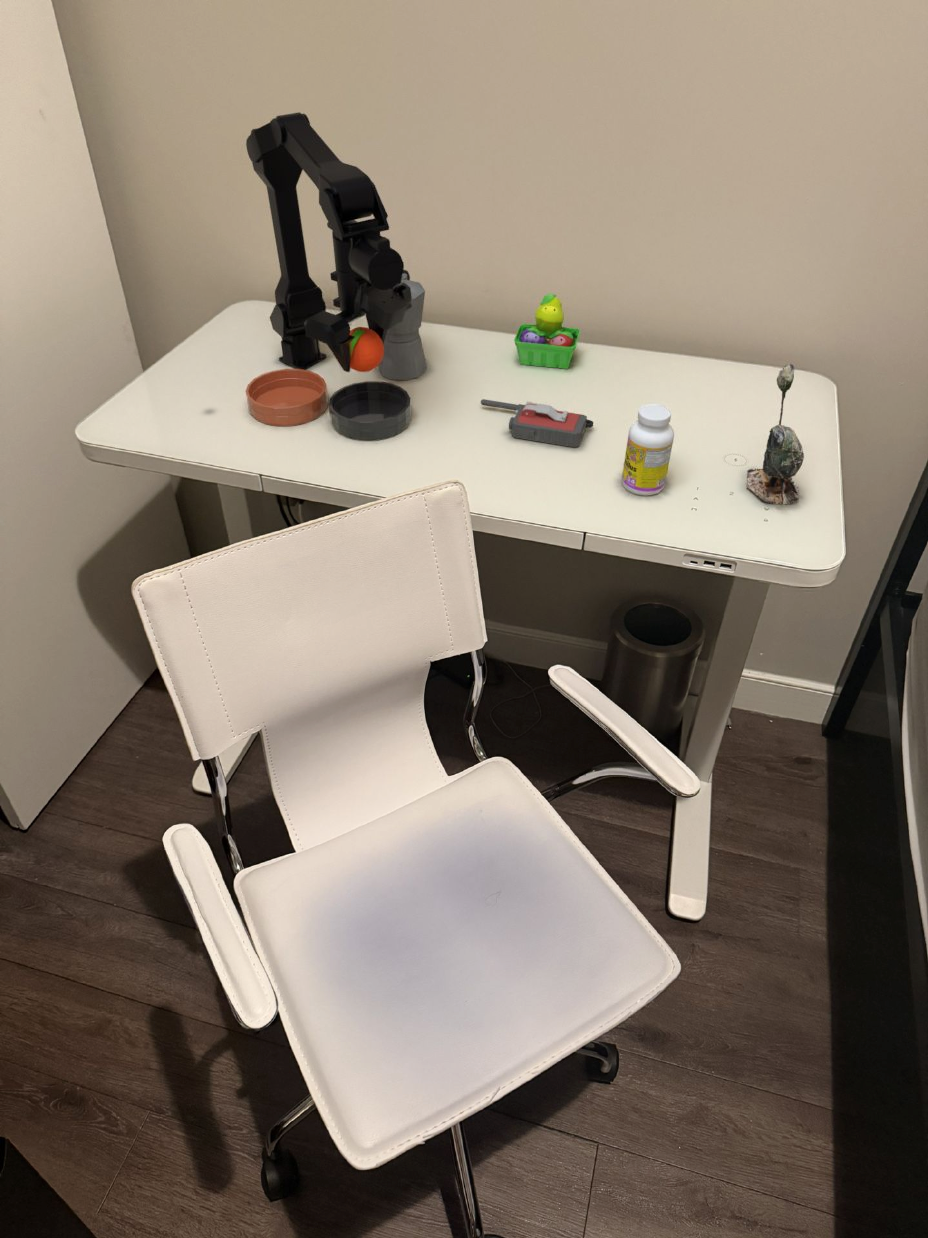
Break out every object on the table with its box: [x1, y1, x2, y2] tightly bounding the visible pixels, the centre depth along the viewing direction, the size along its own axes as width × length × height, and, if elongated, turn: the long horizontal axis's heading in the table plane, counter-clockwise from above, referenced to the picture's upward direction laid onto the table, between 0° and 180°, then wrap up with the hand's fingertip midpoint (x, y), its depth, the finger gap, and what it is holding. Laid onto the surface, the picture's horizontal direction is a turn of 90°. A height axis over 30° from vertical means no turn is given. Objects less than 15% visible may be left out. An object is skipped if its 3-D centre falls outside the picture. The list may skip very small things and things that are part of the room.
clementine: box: [349, 326, 384, 373], centre depth 143 cm, size 8×7×7 cm
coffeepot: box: [377, 269, 428, 382], centre depth 159 cm, size 15×9×18 cm, turn 174°
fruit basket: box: [514, 293, 581, 370], centre depth 164 cm, size 11×9×11 cm
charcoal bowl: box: [328, 380, 412, 442], centre depth 150 cm, size 14×14×4 cm
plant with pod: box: [746, 363, 805, 505], centre depth 129 cm, size 8×11×20 cm
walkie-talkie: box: [480, 398, 594, 448], centre depth 148 cm, size 9×4×20 cm
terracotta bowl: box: [245, 368, 329, 427], centre depth 154 cm, size 14×14×4 cm
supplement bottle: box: [621, 403, 675, 496], centre depth 133 cm, size 7×7×13 cm
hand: (362, 361), depth 145 cm, fingers closed on clementine, 7 cm apart
